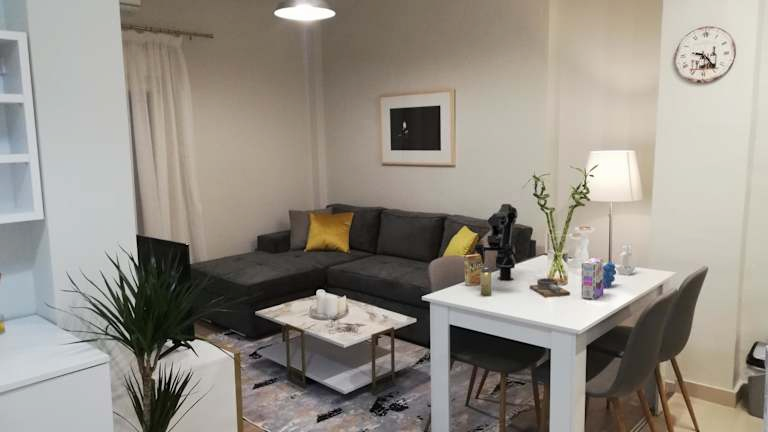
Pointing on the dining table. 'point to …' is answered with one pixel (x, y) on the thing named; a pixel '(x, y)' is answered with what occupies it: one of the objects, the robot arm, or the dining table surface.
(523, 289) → the dining table surface
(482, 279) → the gold two-tone capped cylinder
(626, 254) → the figurine
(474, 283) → the candy box
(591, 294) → the candy box
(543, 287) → the fitting board
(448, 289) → the dining table surface
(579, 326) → the dining table surface
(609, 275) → the grapes
